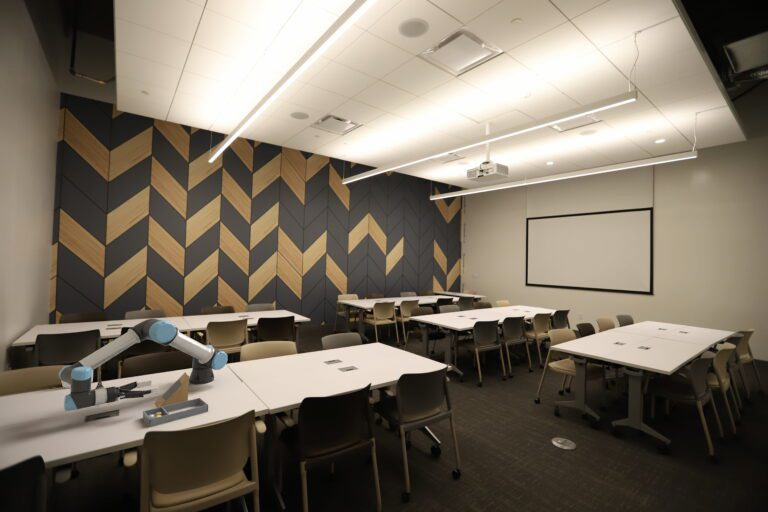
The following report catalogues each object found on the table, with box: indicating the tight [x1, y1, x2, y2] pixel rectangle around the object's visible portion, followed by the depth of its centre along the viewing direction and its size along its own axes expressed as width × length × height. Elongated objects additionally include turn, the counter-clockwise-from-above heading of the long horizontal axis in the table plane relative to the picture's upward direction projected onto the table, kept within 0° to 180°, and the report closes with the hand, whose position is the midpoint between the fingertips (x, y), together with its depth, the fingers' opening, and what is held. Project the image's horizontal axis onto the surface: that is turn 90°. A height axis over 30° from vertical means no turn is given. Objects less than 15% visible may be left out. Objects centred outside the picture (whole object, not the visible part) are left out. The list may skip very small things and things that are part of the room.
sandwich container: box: [154, 371, 190, 408], centre depth 201 cm, size 9×15×15 cm, turn 132°
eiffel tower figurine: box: [91, 371, 117, 391], centre depth 214 cm, size 15×10×13 cm
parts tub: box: [142, 397, 209, 428], centre depth 186 cm, size 27×13×4 cm, turn 136°
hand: (154, 386), depth 194 cm, fingers open, 13 cm apart
